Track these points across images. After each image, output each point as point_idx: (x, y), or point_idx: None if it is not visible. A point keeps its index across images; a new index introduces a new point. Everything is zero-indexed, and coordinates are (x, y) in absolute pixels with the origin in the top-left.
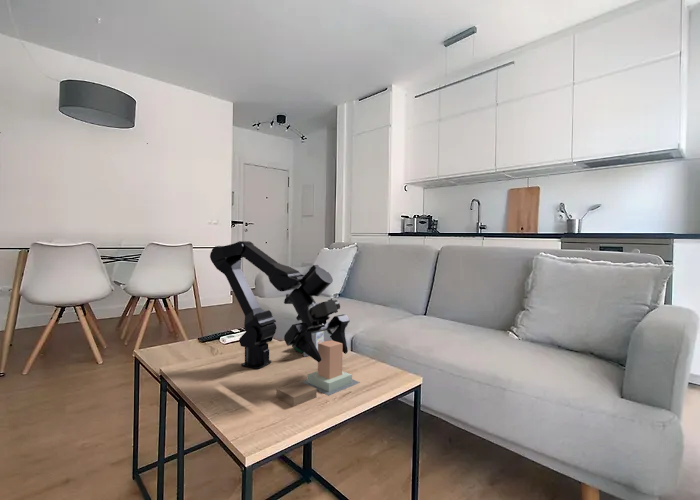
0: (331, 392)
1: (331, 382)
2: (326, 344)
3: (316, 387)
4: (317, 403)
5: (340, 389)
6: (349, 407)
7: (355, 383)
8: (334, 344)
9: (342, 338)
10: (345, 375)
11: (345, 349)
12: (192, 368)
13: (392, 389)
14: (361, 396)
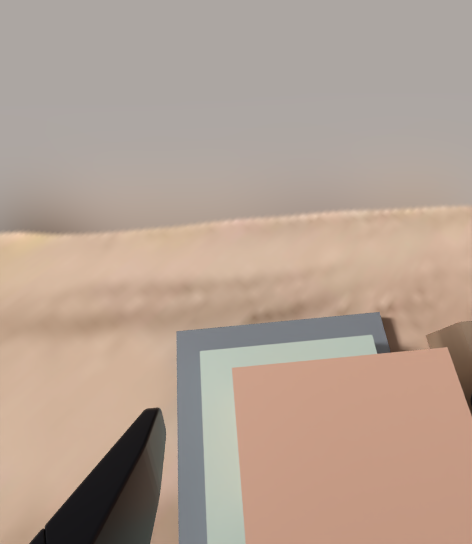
0: (353, 328)
1: (354, 337)
2: (443, 474)
3: None
4: (428, 320)
5: (300, 328)
6: (337, 227)
7: (203, 335)
8: (343, 397)
9: (89, 542)
10: (236, 364)
11: (154, 429)
12: None
13: (114, 236)
14: (246, 262)
